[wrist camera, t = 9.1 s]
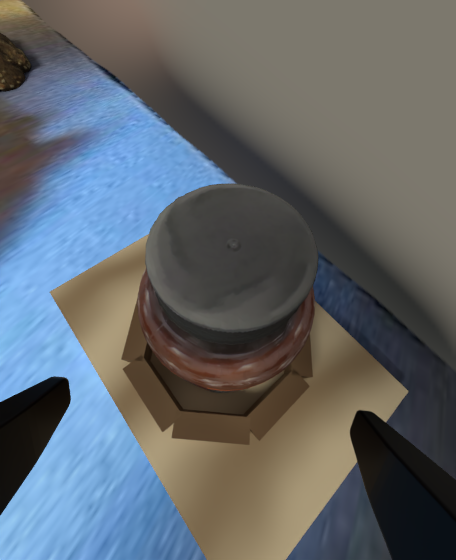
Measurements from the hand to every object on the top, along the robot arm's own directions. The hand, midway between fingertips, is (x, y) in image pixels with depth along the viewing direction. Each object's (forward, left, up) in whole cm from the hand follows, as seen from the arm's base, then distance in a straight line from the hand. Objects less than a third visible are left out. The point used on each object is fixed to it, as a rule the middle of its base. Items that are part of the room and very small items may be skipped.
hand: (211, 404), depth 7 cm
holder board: (+2, -3, -8) cm, 9 cm away
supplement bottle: (+2, -2, -8) cm, 8 cm away
